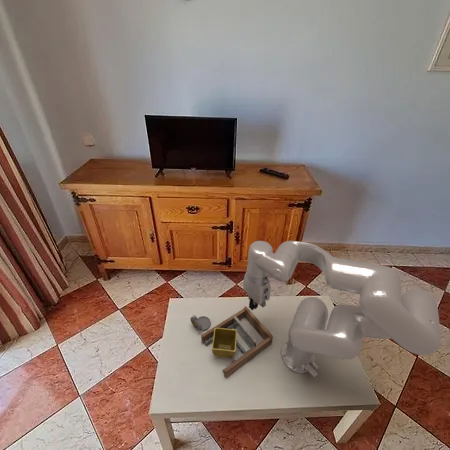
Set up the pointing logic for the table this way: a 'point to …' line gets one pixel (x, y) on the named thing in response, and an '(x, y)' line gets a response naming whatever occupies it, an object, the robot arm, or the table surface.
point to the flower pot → (224, 342)
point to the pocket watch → (200, 323)
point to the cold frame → (254, 351)
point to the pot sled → (242, 332)
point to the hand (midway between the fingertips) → (253, 307)
